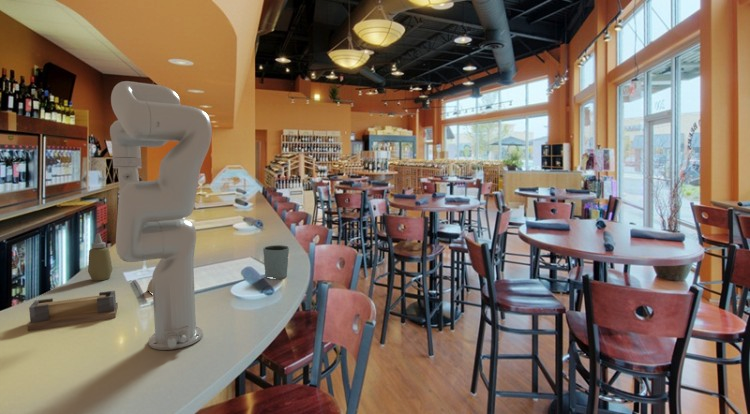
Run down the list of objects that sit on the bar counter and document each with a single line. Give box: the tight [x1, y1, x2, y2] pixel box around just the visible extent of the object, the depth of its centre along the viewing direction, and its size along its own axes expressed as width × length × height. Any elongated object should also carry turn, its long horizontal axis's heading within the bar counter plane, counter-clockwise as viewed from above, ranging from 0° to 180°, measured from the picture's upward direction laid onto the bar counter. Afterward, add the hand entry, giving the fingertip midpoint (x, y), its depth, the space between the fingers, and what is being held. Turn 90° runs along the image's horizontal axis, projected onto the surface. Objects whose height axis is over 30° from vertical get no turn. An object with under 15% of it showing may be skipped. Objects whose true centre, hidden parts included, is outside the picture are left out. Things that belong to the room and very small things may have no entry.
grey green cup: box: [262, 244, 290, 280], centre depth 162 cm, size 10×10×12 cm
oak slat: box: [37, 295, 106, 319], centre depth 117 cm, size 3×16×4 cm, turn 119°
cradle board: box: [27, 290, 119, 332], centre depth 117 cm, size 10×20×6 cm, turn 119°
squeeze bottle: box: [87, 233, 114, 282], centre depth 157 cm, size 8×8×18 cm
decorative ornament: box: [146, 278, 153, 293], centre depth 141 cm, size 4×8×5 cm, turn 44°
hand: (130, 222), depth 126 cm, fingers closed
